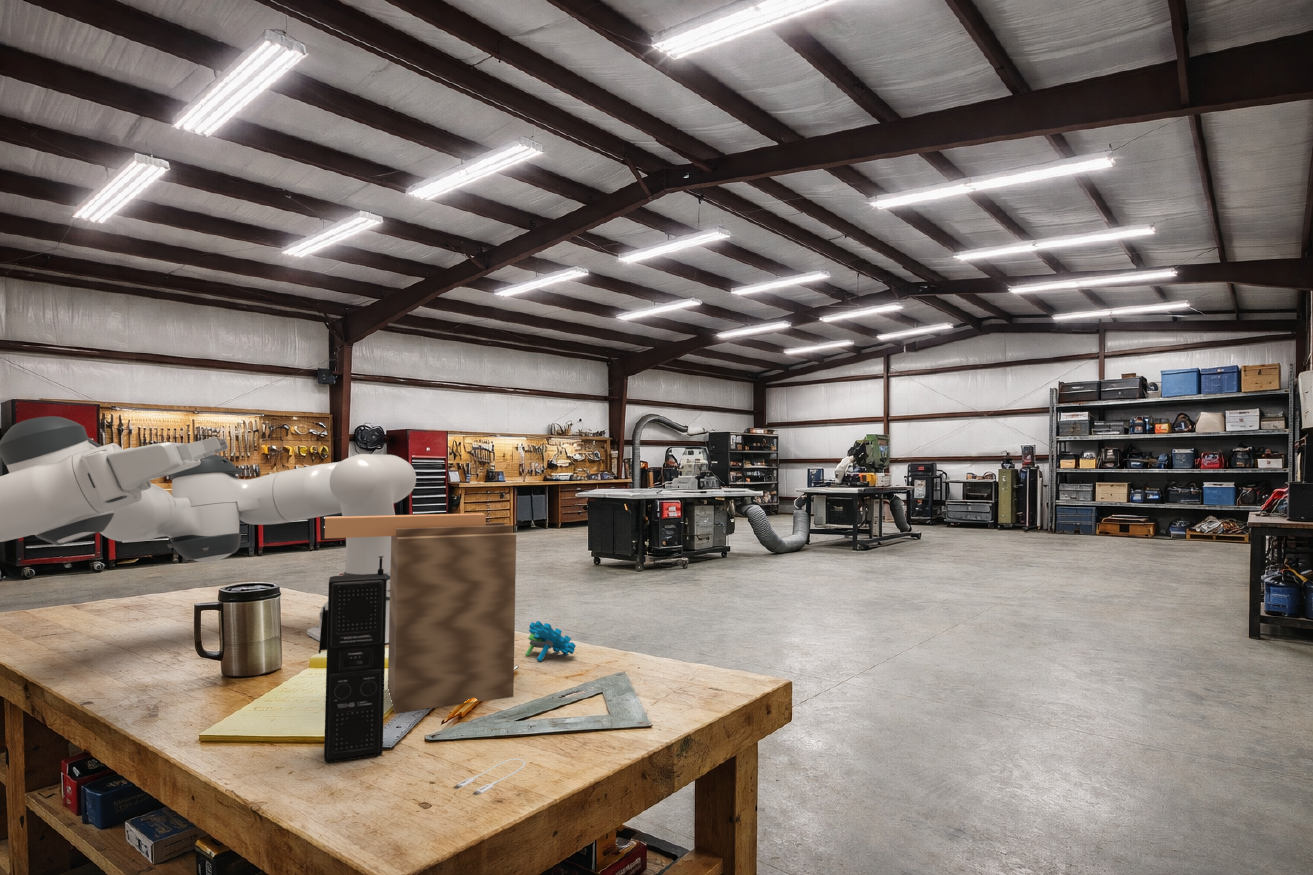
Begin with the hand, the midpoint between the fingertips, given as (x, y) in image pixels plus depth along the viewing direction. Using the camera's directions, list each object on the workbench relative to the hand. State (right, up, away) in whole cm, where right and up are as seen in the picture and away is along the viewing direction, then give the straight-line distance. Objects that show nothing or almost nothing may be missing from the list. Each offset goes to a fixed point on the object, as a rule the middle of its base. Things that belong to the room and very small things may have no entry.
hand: (222, 442), depth 102 cm
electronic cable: (+45, -41, -19) cm, 63 cm away
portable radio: (+25, -40, -13) cm, 49 cm away
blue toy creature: (+44, -42, +31) cm, 68 cm away
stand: (+31, -41, +10) cm, 52 cm away
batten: (+25, -15, +8) cm, 30 cm away
